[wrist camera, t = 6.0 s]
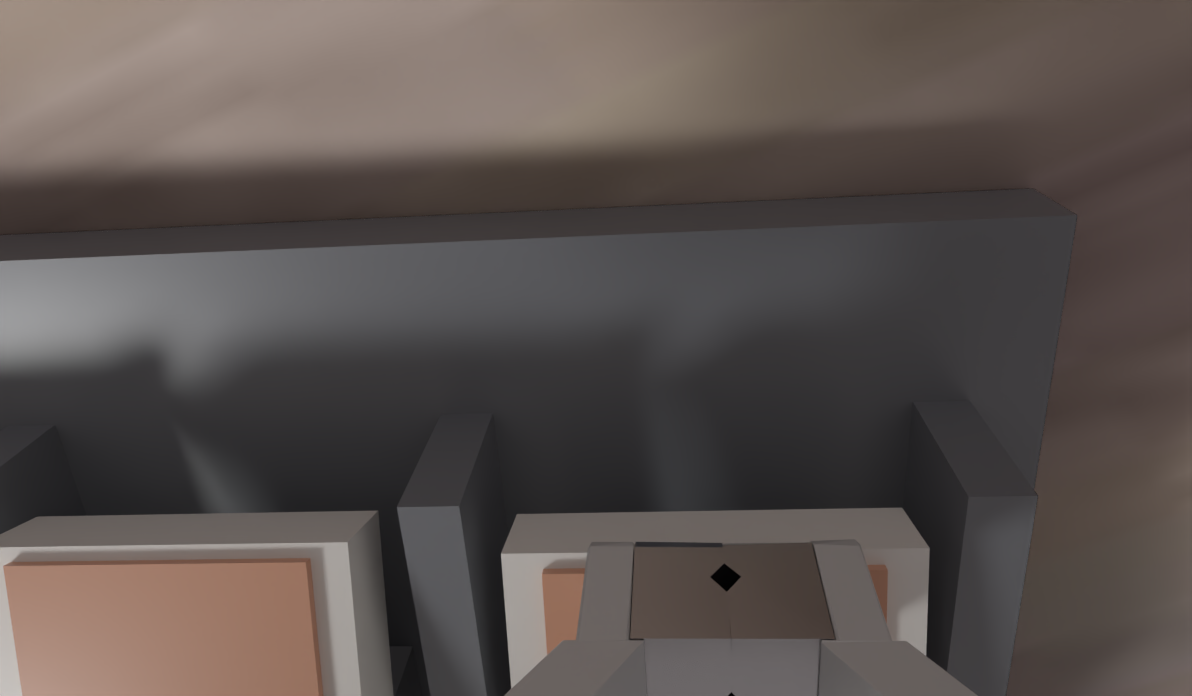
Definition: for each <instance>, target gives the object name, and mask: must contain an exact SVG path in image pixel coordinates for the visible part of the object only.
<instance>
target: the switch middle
mask: <svg viewBox="0 0 1192 696" xmlns="http://www.w3.org/2000/svg"><path fill="white" fill-rule="evenodd" d="M0 696H394V695H393V683H392V671H391V659H390V647H389V635H388V623H387V611H386V599H385V587H384V575H383V563H382V551H381V538H380V526H379V514H378V511H326V512H269V513H212V514H155V515H98V516H40V517H35V518H33V519H31V520H29V521H27V522H25V523H23V524H21V525H19V526H17V527H15V528H12V529H10V530H8V531H6V532H4V533H2V534H0Z"/></svg>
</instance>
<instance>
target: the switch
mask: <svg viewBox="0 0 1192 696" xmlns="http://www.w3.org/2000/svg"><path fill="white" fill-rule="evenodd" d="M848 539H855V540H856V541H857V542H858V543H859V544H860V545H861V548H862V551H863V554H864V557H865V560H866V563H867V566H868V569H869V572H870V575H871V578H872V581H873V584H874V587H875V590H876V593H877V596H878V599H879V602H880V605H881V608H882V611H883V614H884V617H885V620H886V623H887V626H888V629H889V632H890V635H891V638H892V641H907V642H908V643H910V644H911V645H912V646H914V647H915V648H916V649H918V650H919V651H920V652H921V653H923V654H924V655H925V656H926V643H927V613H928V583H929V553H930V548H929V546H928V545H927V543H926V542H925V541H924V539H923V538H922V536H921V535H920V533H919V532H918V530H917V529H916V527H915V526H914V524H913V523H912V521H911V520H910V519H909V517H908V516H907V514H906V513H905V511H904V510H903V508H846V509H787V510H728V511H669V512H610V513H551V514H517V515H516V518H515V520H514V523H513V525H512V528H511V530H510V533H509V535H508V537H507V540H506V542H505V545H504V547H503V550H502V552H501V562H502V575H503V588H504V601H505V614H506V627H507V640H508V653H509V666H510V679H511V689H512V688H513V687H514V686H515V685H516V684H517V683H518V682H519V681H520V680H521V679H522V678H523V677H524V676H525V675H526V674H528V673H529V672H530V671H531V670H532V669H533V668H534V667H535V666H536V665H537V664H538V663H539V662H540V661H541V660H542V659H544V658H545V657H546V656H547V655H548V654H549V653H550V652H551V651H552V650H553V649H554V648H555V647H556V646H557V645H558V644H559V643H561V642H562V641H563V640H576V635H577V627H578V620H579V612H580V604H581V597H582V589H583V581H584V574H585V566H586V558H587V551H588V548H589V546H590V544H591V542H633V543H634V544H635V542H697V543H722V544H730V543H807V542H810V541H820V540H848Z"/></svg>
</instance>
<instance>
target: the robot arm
mask: <svg viewBox="0 0 1192 696" xmlns="http://www.w3.org/2000/svg"><path fill="white" fill-rule="evenodd" d="M504 696H978V695H976V694H975V693H974V692H972V691H971V690H970V689H968V688H967V687H966V686H964V685H963V684H962V683H961V682H959V681H958V680H957V679H955V678H954V677H953V676H951V675H950V674H949V673H948V672H946V671H945V670H944V669H942V668H941V667H940V666H938V665H937V664H936V663H934V662H933V661H932V660H931V659H929V658H928V657H927V656H925V655H924V654H923V653H921V652H920V651H919V650H918V649H916V648H915V647H914V646H912V645H911V644H910V643H908V642H907V641H892V638H891V635H890V632H889V629H888V626H887V623H886V620H885V617H884V614H883V611H882V608H881V605H880V602H879V599H878V596H877V593H876V590H875V587H874V584H873V581H872V578H871V575H870V572H869V569H868V566H867V563H866V560H865V557H864V554H863V551H862V548H861V545H860V544H859V543H858V542H857V541H856V540H855V539H848V540H820V541H810V542H807V543H730V544H722V543H697V542H635V544H634V543H633V542H591V544H590V546H589V548H588V551H587V558H586V566H585V574H584V581H583V589H582V597H581V604H580V612H579V620H578V627H577V635H576V640H563V641H562V642H561V643H559V644H558V645H557V646H556V647H555V648H554V649H553V650H552V651H551V652H550V653H549V654H548V655H547V656H546V657H545V658H544V659H542V660H541V661H540V662H539V663H538V664H537V665H536V666H535V667H534V668H533V669H532V670H531V671H530V672H529V673H528V674H526V675H525V676H524V677H523V678H522V679H521V680H520V681H519V682H518V683H517V684H516V685H515V686H514V687H513V688H512V689H511V690H509V691H508V692H507V693H506V694H505V695H504Z"/></svg>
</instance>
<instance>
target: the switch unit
mask: <svg viewBox="0 0 1192 696" xmlns="http://www.w3.org/2000/svg"><path fill="white" fill-rule="evenodd" d="M1076 221H1077V215H1076V214H1075V213H1073V212H1071V211H1070V210H1068V209H1066V208H1065V207H1063V206H1061V205H1060V204H1058V203H1056V202H1055V201H1053V200H1051V199H1050V198H1048V197H1046V196H1045V195H1043V194H1041V193H1040V192H1038V191H1036V190H1035V189H1011V190H989V191H967V192H945V193H922V194H900V195H878V196H856V197H834V198H812V199H790V200H767V201H745V202H723V203H701V204H679V205H657V206H635V207H612V208H590V209H568V210H546V211H524V212H502V213H480V214H457V215H435V216H413V217H391V218H369V219H347V220H325V221H302V222H280V223H258V224H236V225H214V226H192V227H170V228H147V229H125V230H103V231H81V232H59V233H37V234H15V235H0V534H2V533H4V532H6V531H8V530H10V529H12V528H15V527H17V526H19V525H21V524H23V523H25V522H27V521H29V520H31V519H33V518H35V517H40V516H98V515H155V514H212V513H269V512H326V511H378V514H379V526H380V538H381V551H382V563H383V575H384V587H385V599H386V611H387V623H388V635H389V647H390V659H391V671H392V683H393V695H394V696H504V695H505V694H506V693H507V692H508V691H509V690H511V679H510V666H509V653H508V640H507V627H506V614H505V601H504V588H503V575H502V562H501V552H502V550H503V547H504V545H505V542H506V540H507V537H508V535H509V533H510V530H511V528H512V525H513V523H514V520H515V518H516V515H517V514H551V513H610V512H669V511H728V510H787V509H846V508H903V510H904V511H905V513H906V514H907V516H908V517H909V519H910V520H911V521H912V523H913V524H914V526H915V527H916V529H917V530H918V532H919V533H920V535H921V536H922V538H923V539H924V541H925V542H926V543H927V545H928V546H929V548H930V553H929V583H928V613H927V643H926V656H927V657H928V658H929V659H931V660H932V661H933V662H934V663H936V664H937V665H938V666H940V667H941V668H942V669H944V670H945V671H946V672H948V673H949V674H950V675H951V676H953V677H954V678H955V679H957V680H958V681H959V682H961V683H962V684H963V685H964V686H966V687H967V688H968V689H970V690H971V691H972V692H974V693H975V694H976V695H978V696H1006V692H1007V686H1008V679H1009V673H1010V667H1011V661H1012V655H1013V648H1014V642H1015V636H1016V630H1017V623H1018V617H1019V611H1020V605H1021V599H1022V592H1023V586H1024V580H1025V574H1026V567H1027V561H1028V555H1029V549H1030V542H1031V536H1032V530H1033V524H1034V518H1035V511H1036V505H1037V499H1038V495H1037V494H1036V492H1035V491H1034V487H1035V480H1036V474H1037V468H1038V461H1039V455H1040V449H1041V442H1042V436H1043V430H1044V423H1045V417H1046V411H1047V404H1048V398H1049V392H1050V385H1051V379H1052V373H1053V366H1054V360H1055V354H1056V347H1057V341H1058V335H1059V328H1060V322H1061V316H1062V309H1063V303H1064V297H1065V290H1066V284H1067V278H1068V271H1069V265H1070V259H1071V252H1072V246H1073V240H1074V233H1075V227H1076Z"/></svg>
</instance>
